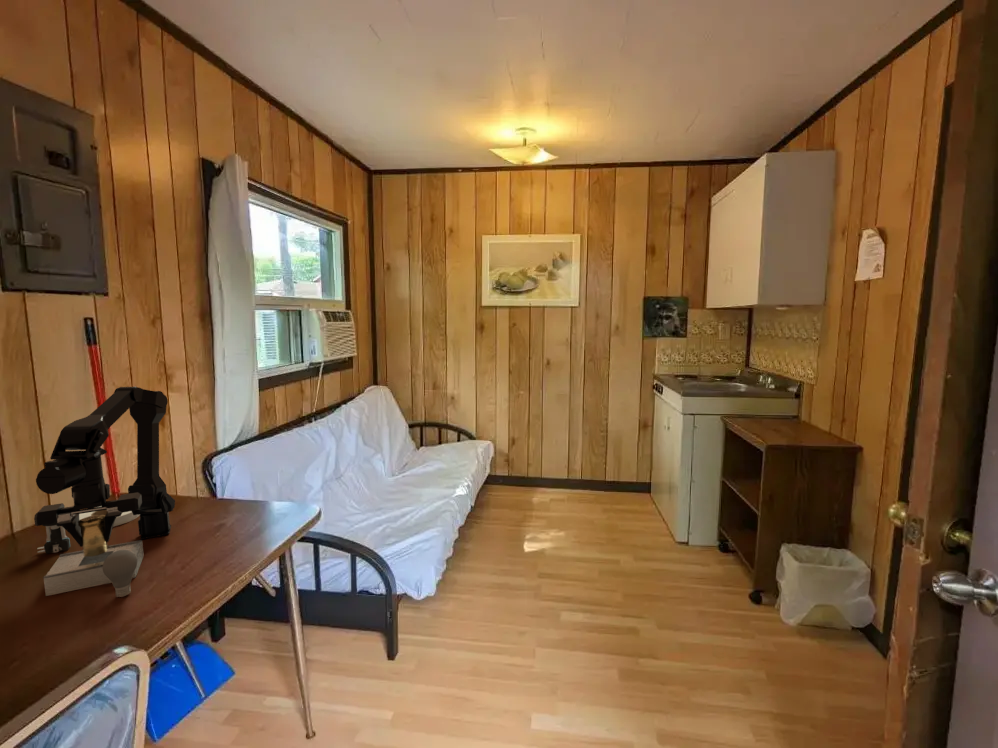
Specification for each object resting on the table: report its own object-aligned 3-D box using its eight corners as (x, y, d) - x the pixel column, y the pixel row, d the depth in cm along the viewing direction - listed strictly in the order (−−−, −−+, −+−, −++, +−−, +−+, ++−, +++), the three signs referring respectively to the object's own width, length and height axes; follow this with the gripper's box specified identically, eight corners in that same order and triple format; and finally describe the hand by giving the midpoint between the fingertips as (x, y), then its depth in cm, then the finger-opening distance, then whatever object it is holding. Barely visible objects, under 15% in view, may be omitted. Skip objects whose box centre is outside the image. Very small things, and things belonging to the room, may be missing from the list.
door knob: (111, 545, 122) (107, 513, 121) (106, 553, 118) (103, 520, 117) (85, 550, 120) (81, 517, 119) (79, 559, 115) (75, 525, 114)
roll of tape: (105, 510, 160) (104, 501, 160) (152, 510, 160) (151, 501, 160) (61, 531, 145) (60, 521, 145) (113, 531, 144) (112, 521, 144)
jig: (143, 556, 128) (141, 539, 128) (135, 577, 118) (133, 559, 117) (62, 571, 121) (60, 554, 121) (45, 596, 110) (43, 577, 110)
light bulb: (135, 585, 114) (130, 542, 113) (144, 594, 111) (139, 550, 109) (102, 596, 110) (97, 552, 109) (110, 606, 106) (105, 560, 105)
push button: (34, 558, 128) (29, 519, 127) (41, 549, 133) (36, 512, 132) (68, 552, 131) (63, 514, 130) (74, 544, 136) (69, 507, 135)
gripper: (142, 463, 128) (148, 523, 130) (46, 475, 120) (54, 539, 121) (134, 475, 118) (141, 540, 120) (29, 489, 110) (38, 558, 112)
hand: (95, 543), depth 119 cm, fingers closed on door knob, 4 cm apart
